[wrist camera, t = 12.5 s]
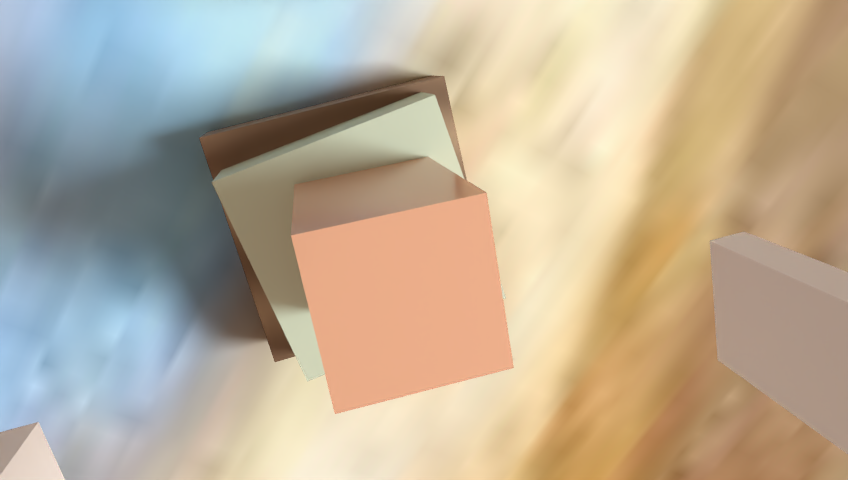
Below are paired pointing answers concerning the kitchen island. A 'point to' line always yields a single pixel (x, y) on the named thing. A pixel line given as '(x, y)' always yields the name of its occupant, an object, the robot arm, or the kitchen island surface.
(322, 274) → the terracotta block
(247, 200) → the sage block
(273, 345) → the walnut block
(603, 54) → the kitchen island surface
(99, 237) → the kitchen island surface
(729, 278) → the robot arm
